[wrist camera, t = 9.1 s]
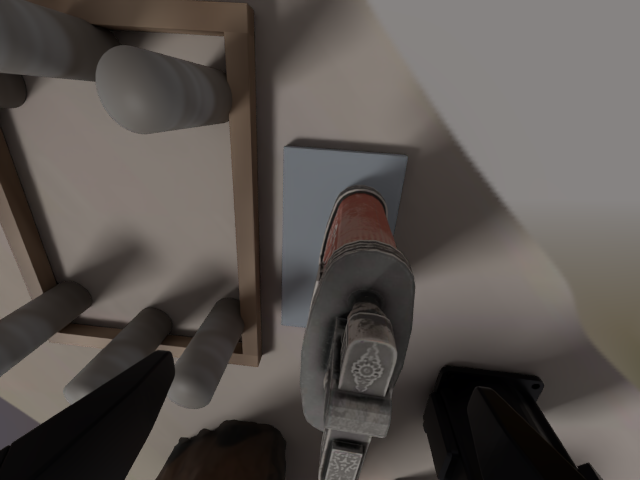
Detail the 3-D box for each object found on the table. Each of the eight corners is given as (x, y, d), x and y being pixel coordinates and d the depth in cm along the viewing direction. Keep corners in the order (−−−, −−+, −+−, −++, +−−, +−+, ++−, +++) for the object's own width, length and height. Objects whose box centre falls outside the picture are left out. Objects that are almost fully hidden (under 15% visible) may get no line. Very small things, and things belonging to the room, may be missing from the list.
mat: (405, 154, 15) (408, 156, 14) (374, 328, 19) (375, 335, 19) (285, 145, 15) (283, 147, 15) (283, 318, 20) (281, 325, 19)
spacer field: (253, 10, 13) (184, -59, 7) (261, 356, 21) (231, 442, 16) (-68, -8, 14) (-343, -81, 8) (61, 332, 22) (-33, 407, 17)
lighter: (330, 179, 15) (303, 294, 6) (397, 190, 15) (474, 322, 6) (312, 308, 18) (276, 507, 9) (366, 317, 18) (384, 526, 9)
